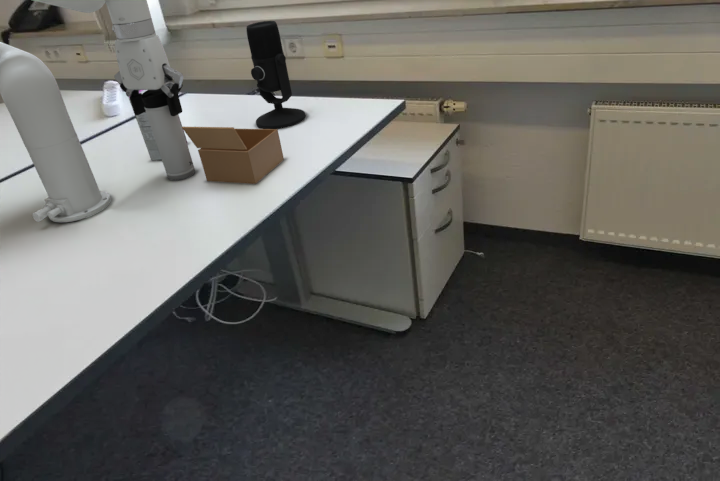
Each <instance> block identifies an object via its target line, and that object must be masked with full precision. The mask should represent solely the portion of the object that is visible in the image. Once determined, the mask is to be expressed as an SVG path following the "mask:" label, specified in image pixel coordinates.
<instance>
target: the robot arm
mask: <svg viewBox="0 0 720 481" xmlns="http://www.w3.org/2000/svg"><path fill="white" fill-rule="evenodd" d="M32 1H33V2H37V3H41V4H47V5H49V6H55V7H59V8H64V9H68V10H71V11H75V12H80V13H84V14H85V13H87V14H88V13H89V14H90V13H94V12H97V11H99V10H100V9H102V8H103V6H104V5H105V6H106V7H107V11H108V14H109V18H110V20H111V25H112V26H111V31H112V32H113V33H114V34H115V37H116V39H115V40H114V50H115V51H114V52H115V57H116V62H117V67H118V70H119V71H118V72H116V73H115V74H114V75H113V77H114V79H115V81H116V82H117V84H118V85H119V87H120V89H121V90H122V91H124V93H125V96H126V97H127V98H129V97H130V100H131V103H130V105H131V104H132V106H131V108H132V107H133V109H132V111H133V110H134V111H133V114H134V113H135V114H134V116H135V115H140V114H142V113H144V112H146V110H145V108H144V103H143V100H142V97H141V95H142V93H139V91H140V90H157V89H160V88H161V89H162V90H163V91H164V92H165V93H166V95H167V96H168V97H167V98H166V100H167V104H168V107H169V111H170V115H171V116H176V115H180V114H181V113H183V108H182V107H183V106H182V103H181V99H180V96H179V94H181V90H182V88H183V86H184V85H183V82H184V74H183V73H182V72H180V71H179V70H177V69H175V68H173V67H171V64H170V61H169V59H168V55H167V52H166V50H165V48H164V45H163V42H162V41H161V39H160V37H159V34H157V33H156V29H155V25H154V21H153V18H152V15H151V11H150V8H149V4H148V0H32ZM167 86H169V87H170V89H169V88H168V87H167ZM0 96H1V99H2V102H3V103H4V105H5V107H6V109H7V112H8V113H9V115H10V117H11V119H12V121H13V124H14V126H15V128H16V130H17V132H18V134H19V136H20V139H21V141H22V143H23V145H24V147H25V149H26V150H27V153H28V155H29V157H30V160H31V162H32V164H33V166H34V169H35V170H36V172H37V175H38V177H39V179H40V181H41V184H42V186H43V188H44V190H45V192H46V195H47V197H46V198H44V202H45V204H44V205H43V207H42V208H40V209H37V210H36V211H35V212H32V213H31V216H32V218H33V220H35V222H41V221H42V220H44V219H46V218H47V217H48V219H49V220H50V221H52V222H54V223H71V222H77V221H80V220H84V219H86V218H90V217H91V216H93V215H96V214H98V213H100V212H101V211H103V210H104V209H106V208H107V207H108V206H109V205H110V204H111V202H112V197H111V194H110V193H109V191H106V190H100V188H99V184H98V183H97V180H96V178H95V176H94V173H93V170H92V168H91V166H90V163H89V161H88V158H87V156H86V153H85V151H84V148H83V146H82V144H81V141H80V139H79V136H78V134H77V132H76V129H75V126H74V124H73V122H72V120H71V117H70V115H69V112H68V109H67V107H66V104H65V101H64V99H63V95H62V93H61V90H60V87H59V84H58V81H57V80H56V78H55V76H54V74H53V72H52V71H51V69H50V68H49V67H48V65H46V63H44V61H42V60H41V59H40V58H39V57H38V56H36V55H35V54H33V53H31V52H28V51H26V50H23V49H21V48H18V47H16V46H12V45H9V44H7V43H5V42H2V41H0ZM130 100H129V101H130Z"/></svg>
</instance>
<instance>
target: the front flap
mask: <svg viewBox="0 0 720 481" xmlns="http://www.w3.org/2000/svg"><path fill="white" fill-rule="evenodd" d="M182 128H183V130H184V133H185V135H186V136H187V137H188V138H189V139H190V141H191V142H192V144H193V145H194V146H195V147H196V149H201V148H211V149H242V150H247V148H246V146H245V145H244V143H243V141H242V140H241V138H240V137H239V135H238V134H237V132H236V130H235V129H236V128H235V127H234V126H233V127H231V126H230V127H229V126H182Z"/></svg>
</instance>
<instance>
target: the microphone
mask: <svg viewBox="0 0 720 481" xmlns="http://www.w3.org/2000/svg"><path fill="white" fill-rule="evenodd" d="M245 29H246V37H247V41H248V46H249V50H250V56H251V57H250V58H251V61H252V65H253V68H251V70H250V75H251V77H252V79H253V80H254V81H256V87H257V88H258V92H259V95H260V97H261V98H262V99H263V100H264V101H265V102H266V103H268V104H270V105H271V104H272V105H273V106H274V109H272V110H269V111H267V112H265V113H263V114H261V115H260V116H258V117H257V118H256V119H255V125H256V127H257V128H258V129H278V130H280V129H281V130H282V129H286V128H290V127H293V126H296V125H298V124H300V123H302V122H303V121H305V119H306V117H307V115H306V111H305V110H303V109H301V108H292V107H283V104H284V103H286V102H288V100H290V98H291V97H292V96H293V92H292V87H291V82H290V76H289V72H288V67H287V61H286V60H287V58H286V55H285V53H284V50H283V44H282V40H281V34H280V31H279V26H278V23H277V21H276V20H264V21H257V22H253V23H251V24H248V25H246V28H245ZM275 92H280V93H281V98H280V97H276V96H275V95H274V94H273V93H275Z"/></svg>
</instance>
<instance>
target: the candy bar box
mask: <svg viewBox="0 0 720 481" xmlns="http://www.w3.org/2000/svg"><path fill="white" fill-rule="evenodd" d="M145 91H147V90H140V91H139V93H142V94H143V93H144V92H145ZM128 100H129V103H130V105H131V109H132V111H133V114H134V116H135V119H136V122H137V125H138V128H139V130H140V133H141V137H142V138H143V142H144V145H145V147H146V150H147V153H148V155H149V158H150V161H152V162H159V161H162V159H161V156H160V153H159V150H158V147H157V144H156V141H155V138H154V135H153V132H152V129H151V126H150V123H149V120H148V117H147V114H146V112H144V113H142V114H140V115H135V113H134V110H133V107H132V104H131V100H130V97H128ZM179 119H180V122H181V125H182V126H183V124H182V121H181V118H180V117H179ZM183 132H184V135H185V138H186V142H187V144H188V140H187V137H186V136H187V135H186V133H185V131H184V130H183Z"/></svg>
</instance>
